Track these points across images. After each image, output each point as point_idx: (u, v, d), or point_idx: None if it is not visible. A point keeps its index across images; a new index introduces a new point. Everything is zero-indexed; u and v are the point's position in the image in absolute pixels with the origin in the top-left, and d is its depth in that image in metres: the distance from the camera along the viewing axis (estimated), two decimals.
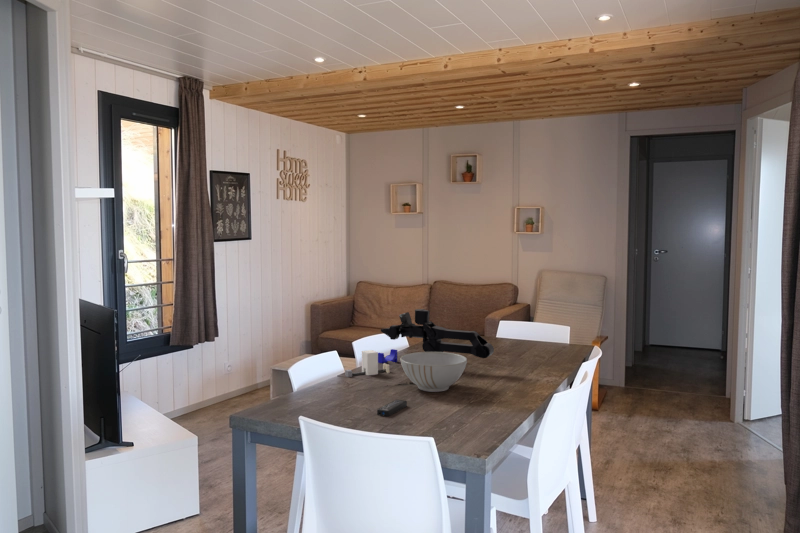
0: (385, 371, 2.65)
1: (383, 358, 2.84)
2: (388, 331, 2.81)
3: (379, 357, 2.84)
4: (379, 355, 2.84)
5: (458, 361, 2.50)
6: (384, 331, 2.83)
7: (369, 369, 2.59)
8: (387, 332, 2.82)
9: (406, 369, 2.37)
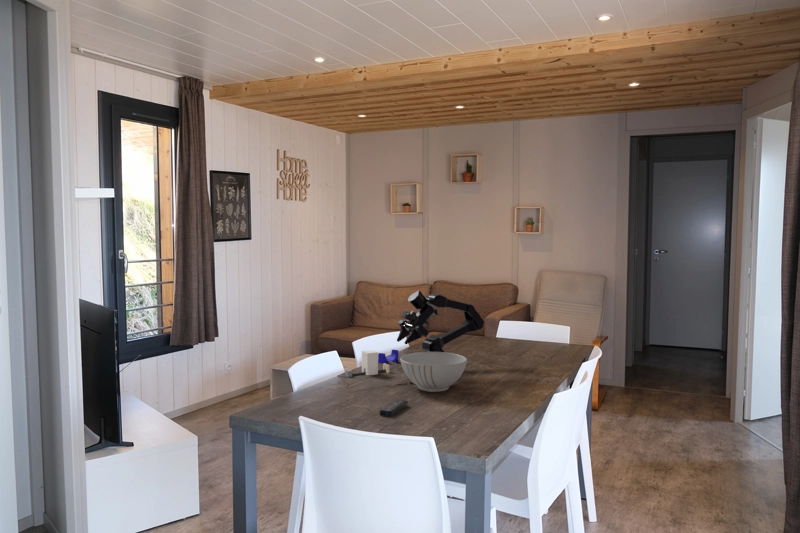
0: (385, 371, 2.65)
1: (384, 358, 2.83)
2: (412, 336, 2.67)
3: (380, 357, 2.83)
4: (380, 355, 2.83)
5: (458, 361, 2.50)
6: (409, 340, 2.66)
7: (369, 369, 2.59)
8: (413, 337, 2.67)
9: (406, 369, 2.37)
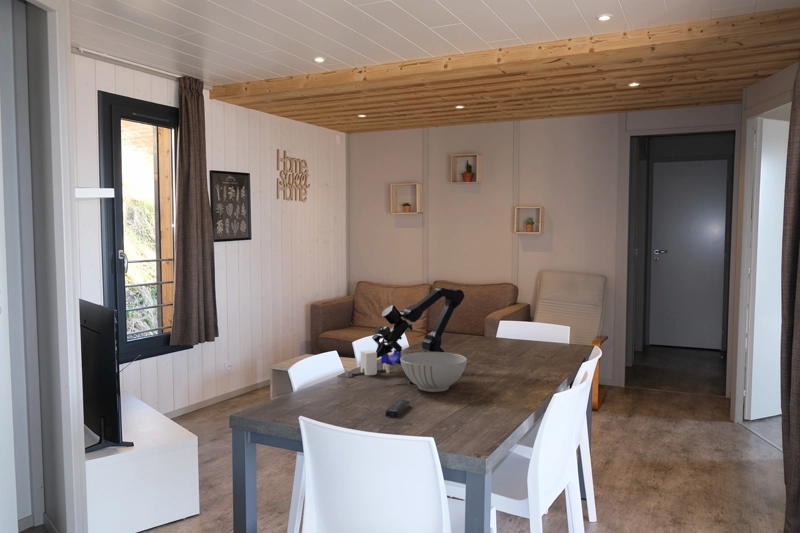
0: (385, 371, 2.65)
1: (388, 359, 2.83)
2: (382, 350, 2.63)
3: (383, 357, 2.83)
4: (384, 356, 2.82)
5: (458, 361, 2.50)
6: (379, 354, 2.63)
7: (368, 369, 2.59)
8: (382, 352, 2.63)
9: (406, 369, 2.37)
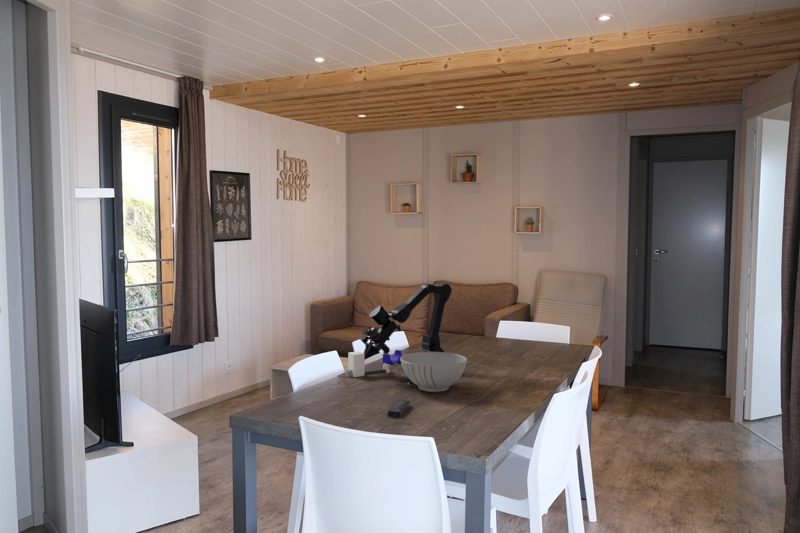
0: (385, 371, 2.65)
1: (389, 359, 2.82)
2: (370, 352, 2.60)
3: (385, 358, 2.82)
4: (385, 356, 2.82)
5: (458, 361, 2.50)
6: (367, 356, 2.60)
7: (355, 371, 2.56)
8: (370, 353, 2.60)
9: (406, 369, 2.37)
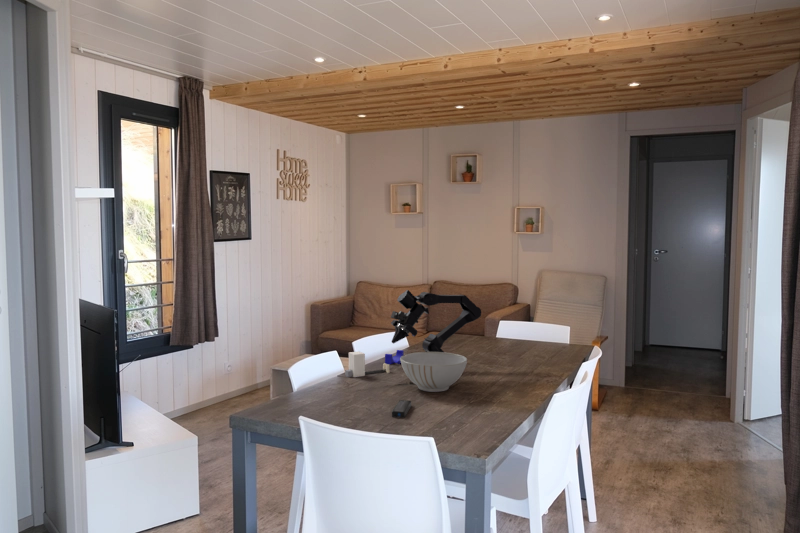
0: (385, 371, 2.65)
1: (391, 359, 2.82)
2: (399, 335, 2.69)
3: (387, 358, 2.82)
4: (387, 356, 2.81)
5: (458, 361, 2.50)
6: (396, 339, 2.69)
7: (356, 371, 2.56)
8: (400, 336, 2.69)
9: (406, 369, 2.37)
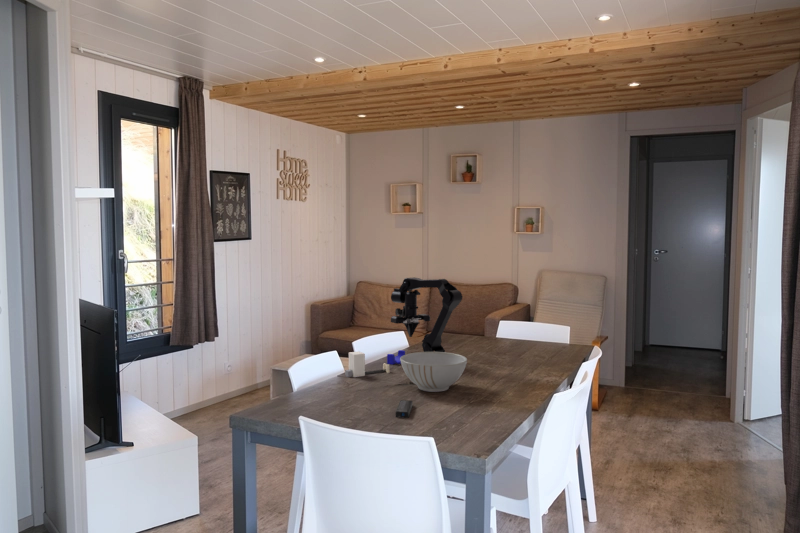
0: (385, 371, 2.65)
1: (394, 359, 2.81)
2: (408, 327, 2.86)
3: (389, 358, 2.81)
4: (390, 356, 2.81)
5: (458, 361, 2.50)
6: (408, 332, 2.86)
7: (356, 371, 2.56)
8: (408, 328, 2.86)
9: (406, 369, 2.37)
